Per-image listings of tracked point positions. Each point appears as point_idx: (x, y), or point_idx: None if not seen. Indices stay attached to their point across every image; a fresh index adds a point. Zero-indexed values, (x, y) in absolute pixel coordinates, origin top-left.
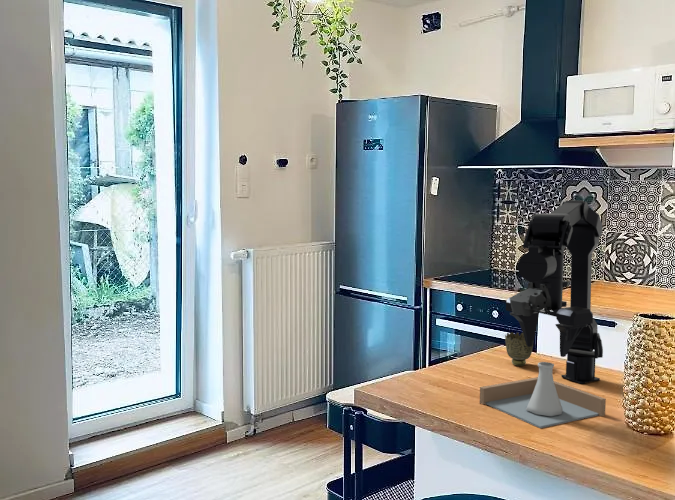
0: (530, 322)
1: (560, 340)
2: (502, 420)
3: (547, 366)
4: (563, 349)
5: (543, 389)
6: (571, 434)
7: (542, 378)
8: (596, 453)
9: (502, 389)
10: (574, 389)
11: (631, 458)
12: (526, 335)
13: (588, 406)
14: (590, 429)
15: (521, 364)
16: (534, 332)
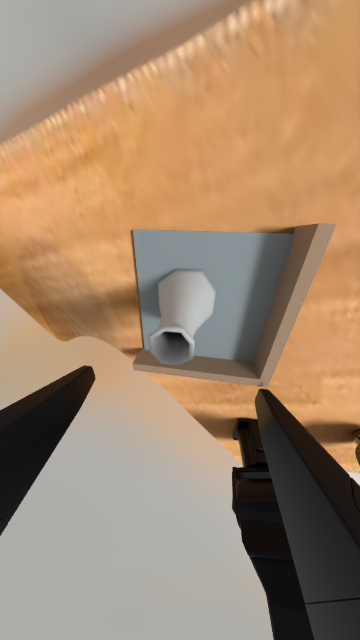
0: (341, 607)
1: (8, 419)
2: (199, 188)
3: (151, 333)
4: (50, 385)
5: (169, 299)
6: (98, 257)
7: (171, 312)
8: (26, 227)
9: (288, 288)
10: (186, 372)
11: (9, 258)
12: (291, 440)
13: None
14: (107, 299)
15: (357, 433)
16: (276, 484)
